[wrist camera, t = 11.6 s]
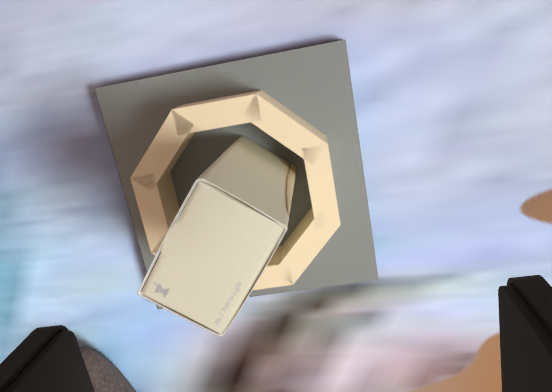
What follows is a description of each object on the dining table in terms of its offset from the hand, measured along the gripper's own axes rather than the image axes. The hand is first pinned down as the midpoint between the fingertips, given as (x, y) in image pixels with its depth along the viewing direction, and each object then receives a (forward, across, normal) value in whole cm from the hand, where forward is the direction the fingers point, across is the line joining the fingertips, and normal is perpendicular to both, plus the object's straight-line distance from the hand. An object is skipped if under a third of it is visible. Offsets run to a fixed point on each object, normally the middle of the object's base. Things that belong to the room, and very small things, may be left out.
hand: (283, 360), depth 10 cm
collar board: (+22, +5, +2) cm, 23 cm away
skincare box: (+21, +4, +2) cm, 22 cm away
